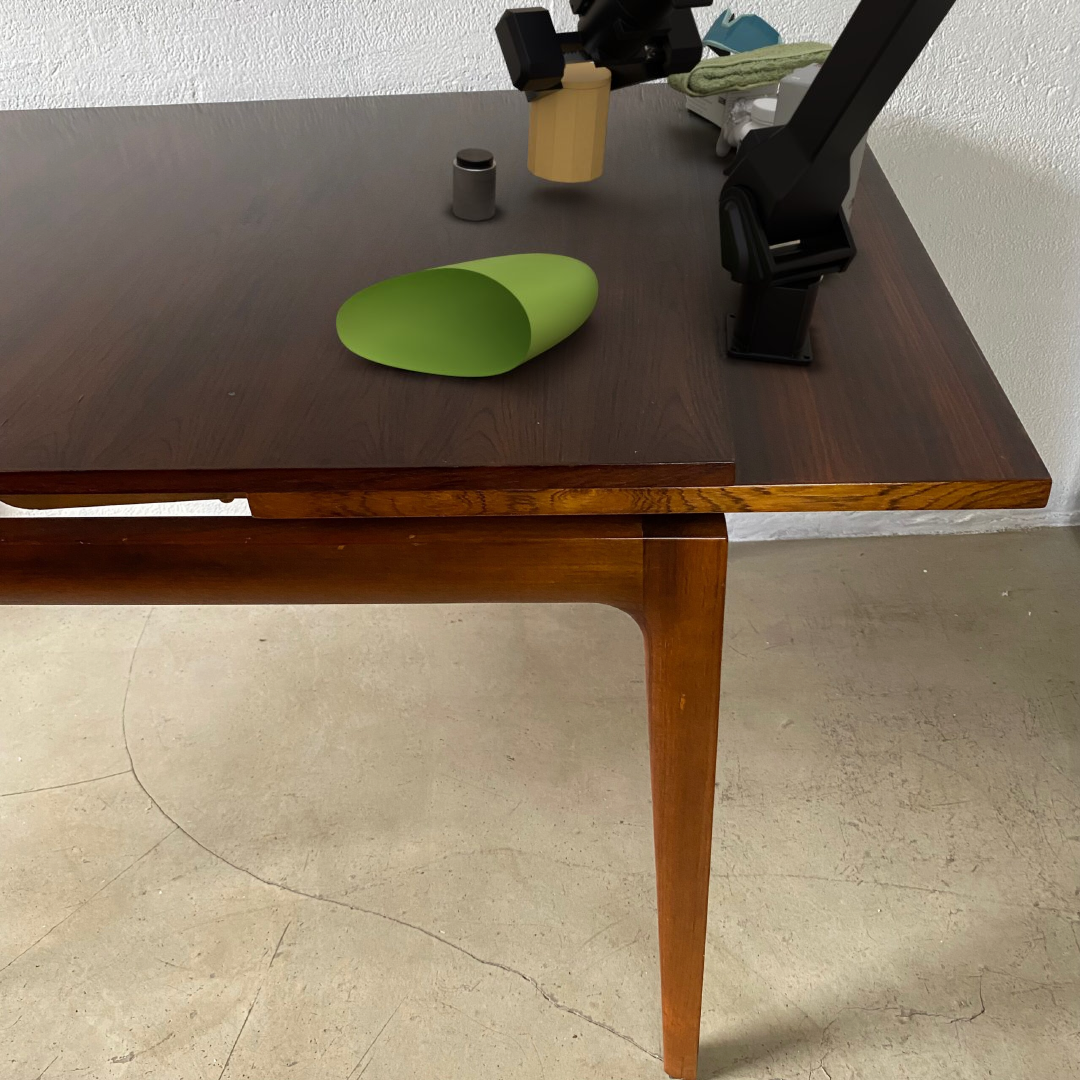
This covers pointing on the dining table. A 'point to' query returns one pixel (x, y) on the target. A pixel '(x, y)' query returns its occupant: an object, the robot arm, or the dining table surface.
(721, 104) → the small box
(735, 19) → the teal curved piece
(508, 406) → the dining table surface
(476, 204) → the flask
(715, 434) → the dining table surface
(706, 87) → the washcloth
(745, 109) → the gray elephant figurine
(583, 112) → the cup-cap
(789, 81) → the cosmetic box
